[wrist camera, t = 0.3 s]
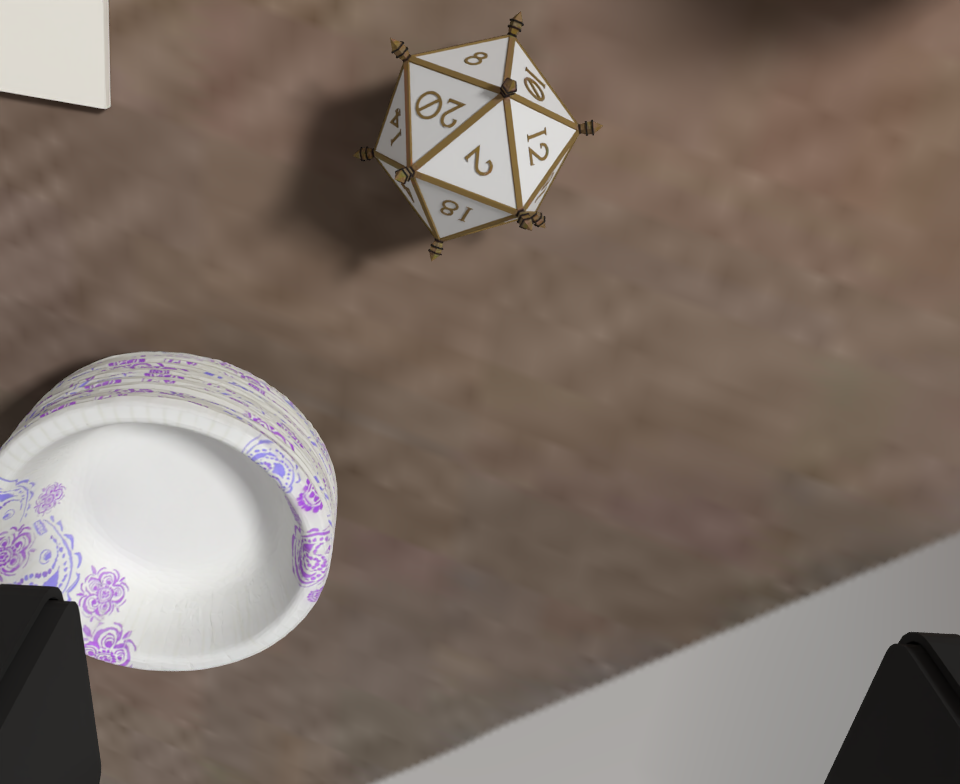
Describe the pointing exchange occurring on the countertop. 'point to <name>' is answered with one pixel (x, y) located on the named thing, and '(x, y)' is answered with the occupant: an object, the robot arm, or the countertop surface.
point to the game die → (474, 136)
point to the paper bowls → (169, 509)
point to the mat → (56, 50)
